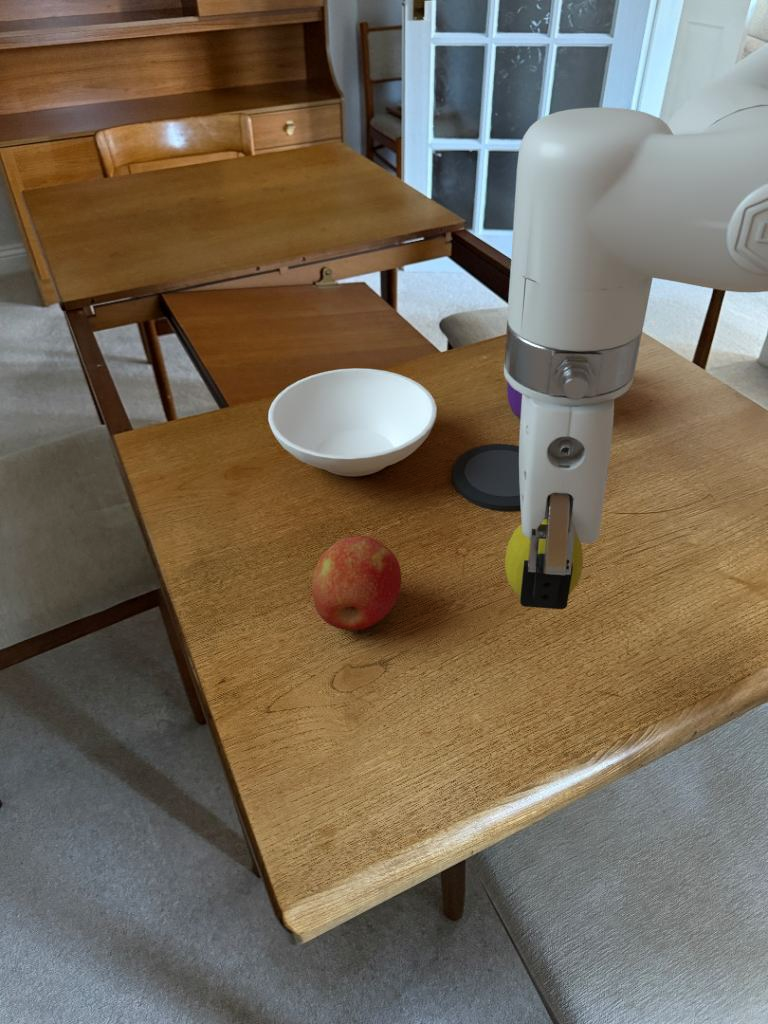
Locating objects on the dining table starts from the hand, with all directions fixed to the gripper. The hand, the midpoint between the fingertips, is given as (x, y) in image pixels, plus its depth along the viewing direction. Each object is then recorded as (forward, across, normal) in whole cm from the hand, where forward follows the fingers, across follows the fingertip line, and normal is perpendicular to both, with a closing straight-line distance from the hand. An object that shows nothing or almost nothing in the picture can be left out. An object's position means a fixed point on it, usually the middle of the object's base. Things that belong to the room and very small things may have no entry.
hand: (542, 571), depth 55 cm
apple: (+14, +7, +16) cm, 22 cm away
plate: (+14, +30, +3) cm, 33 cm away
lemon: (+3, 0, 0) cm, 3 cm away
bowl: (+14, +32, +21) cm, 40 cm away
